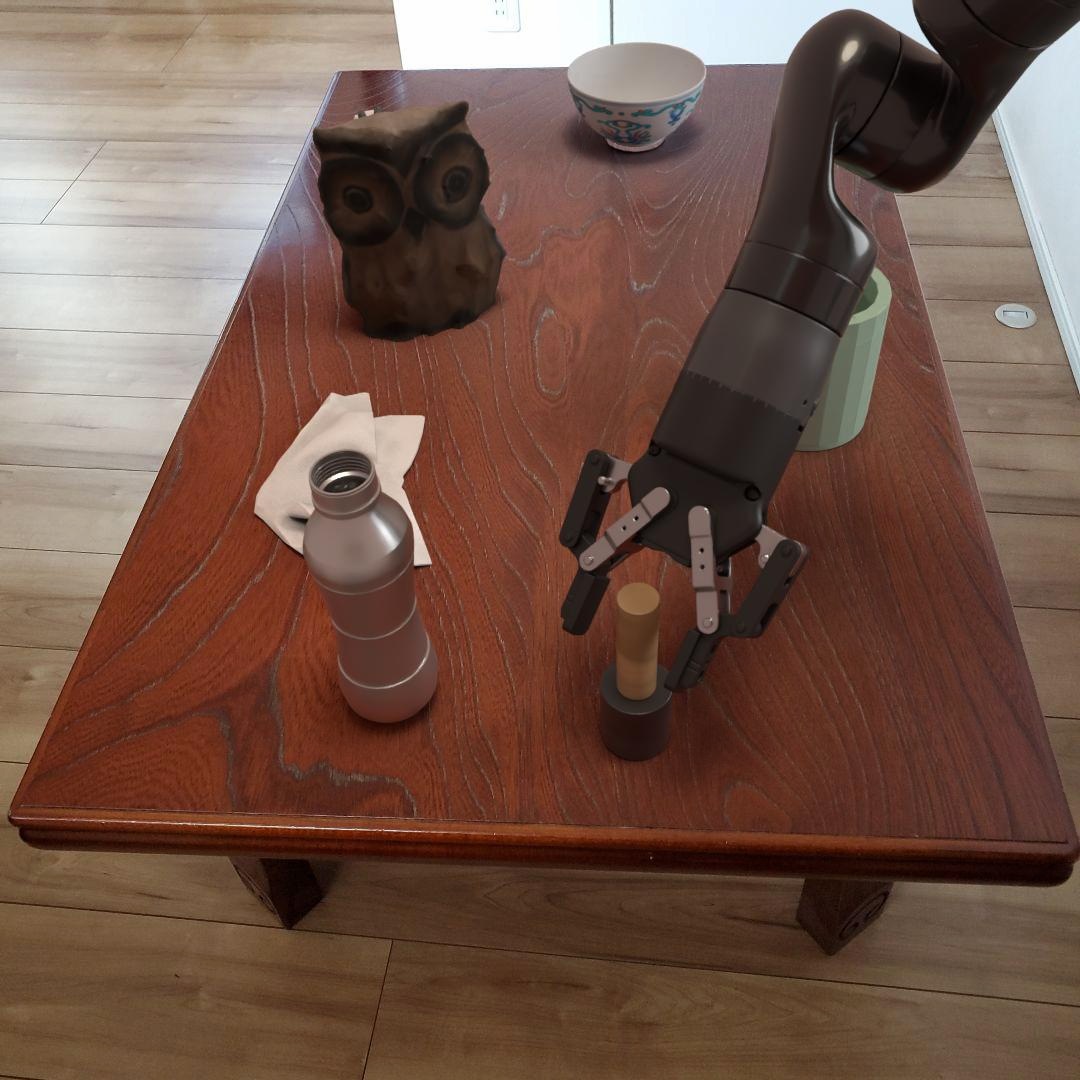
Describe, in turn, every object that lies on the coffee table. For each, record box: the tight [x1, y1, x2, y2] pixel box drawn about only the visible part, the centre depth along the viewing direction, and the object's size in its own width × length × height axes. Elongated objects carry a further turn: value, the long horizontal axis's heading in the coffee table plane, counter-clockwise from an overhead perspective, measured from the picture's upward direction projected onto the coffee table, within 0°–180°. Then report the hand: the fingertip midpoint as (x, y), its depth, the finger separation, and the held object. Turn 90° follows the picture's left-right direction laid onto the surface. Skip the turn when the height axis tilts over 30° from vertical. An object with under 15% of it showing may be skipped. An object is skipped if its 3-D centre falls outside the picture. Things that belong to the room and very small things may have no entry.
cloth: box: [253, 392, 433, 567], centre depth 87 cm, size 26×14×2 cm, turn 4°
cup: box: [794, 267, 893, 452], centre depth 88 cm, size 10×10×12 cm
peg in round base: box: [599, 581, 674, 762], centre depth 67 cm, size 4×4×13 cm
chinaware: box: [566, 41, 707, 147], centre depth 123 cm, size 15×15×8 cm
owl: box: [312, 100, 508, 342], centre depth 98 cm, size 13×13×20 cm
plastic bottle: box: [302, 449, 439, 724], centre depth 67 cm, size 6×7×20 cm
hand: (623, 660), depth 64 cm, fingers open, 6 cm apart
